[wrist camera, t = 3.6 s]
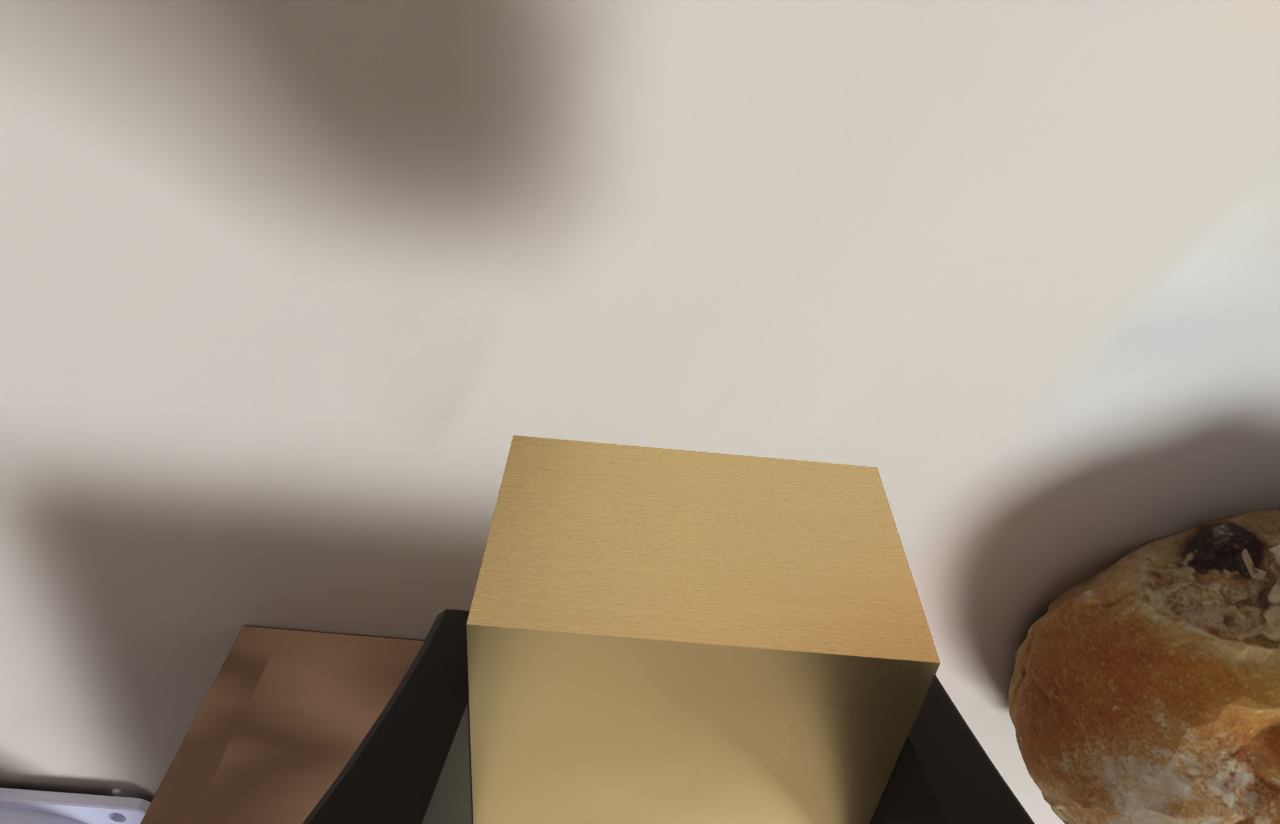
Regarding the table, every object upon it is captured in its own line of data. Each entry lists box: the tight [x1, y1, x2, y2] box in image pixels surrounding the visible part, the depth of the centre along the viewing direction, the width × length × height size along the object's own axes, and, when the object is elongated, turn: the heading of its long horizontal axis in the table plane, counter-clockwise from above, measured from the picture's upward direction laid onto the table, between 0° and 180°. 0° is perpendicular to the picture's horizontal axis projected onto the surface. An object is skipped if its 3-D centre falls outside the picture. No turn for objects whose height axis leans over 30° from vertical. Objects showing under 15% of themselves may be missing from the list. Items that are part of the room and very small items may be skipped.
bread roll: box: [1008, 509, 1280, 824], centre depth 20 cm, size 10×10×8 cm
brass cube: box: [466, 435, 940, 824], centre depth 11 cm, size 4×4×3 cm
